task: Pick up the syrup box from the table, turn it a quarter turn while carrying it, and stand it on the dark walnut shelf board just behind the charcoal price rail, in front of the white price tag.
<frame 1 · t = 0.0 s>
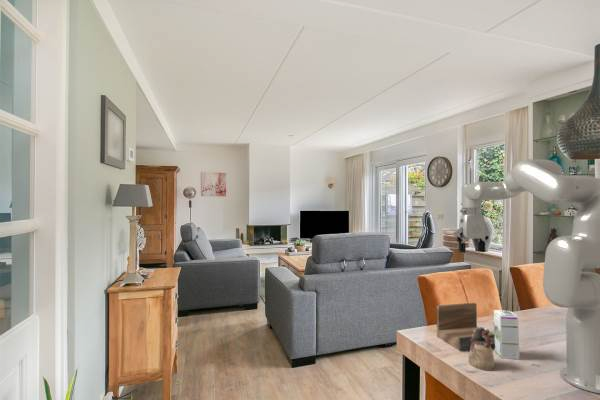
hand: (472, 251, 136), 31 cm above the table, tool pointing down, fingers open, 9 cm apart
syrup box: (506, 355, 108), on the table
shelf: (468, 341, 119), on the table
figurine: (481, 365, 101), on the table
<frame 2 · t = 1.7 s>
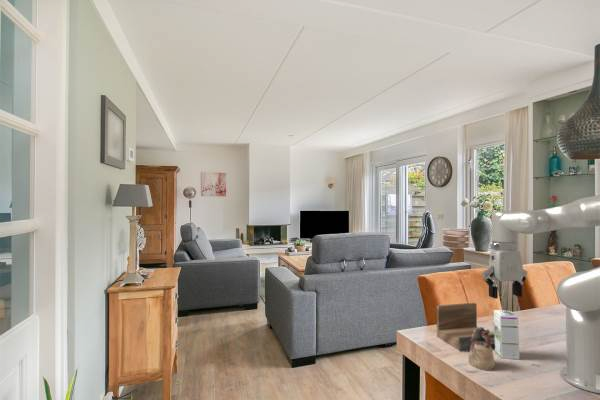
hand: (505, 296, 108), 20 cm above the table, tool pointing down, fingers open, 9 cm apart
nothing on the table moved.
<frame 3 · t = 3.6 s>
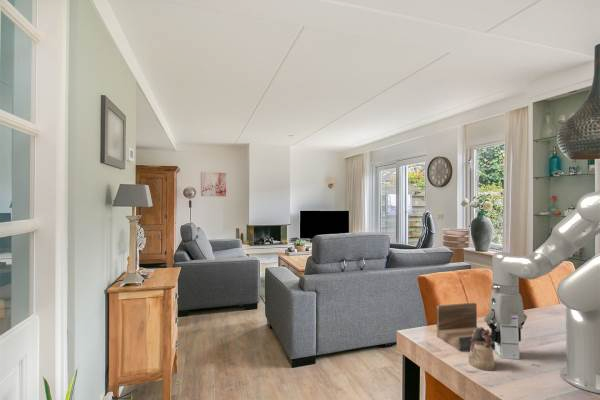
hand: (506, 340, 108), 5 cm above the table, tool pointing down, fingers closed on syrup box, 7 cm apart
syrup box: (506, 355, 108), on the table, touching gripper
everything else where it was.
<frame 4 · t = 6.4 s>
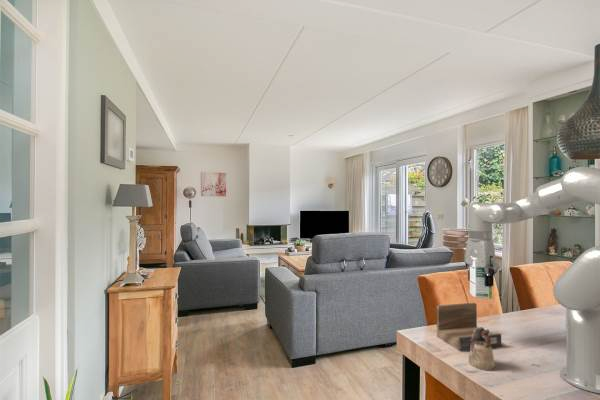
hand: (480, 283, 118), 22 cm above the table, tool pointing down, fingers closed on syrup box, 7 cm apart
syrup box: (480, 296, 118), point 17 cm above the table, touching gripper
everything else where it was.
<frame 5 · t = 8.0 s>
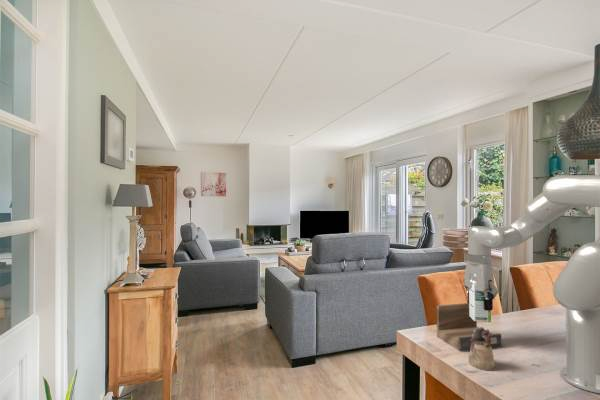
hand: (479, 306, 118), 13 cm above the table, tool pointing down, fingers closed on syrup box, 7 cm apart
syrup box: (479, 319, 118), point 8 cm above the table, touching gripper
everything else where it was.
when the fingers open (9 cm above the table, at t = 9.4 s): syrup box drops 1 cm, resting on shelf.
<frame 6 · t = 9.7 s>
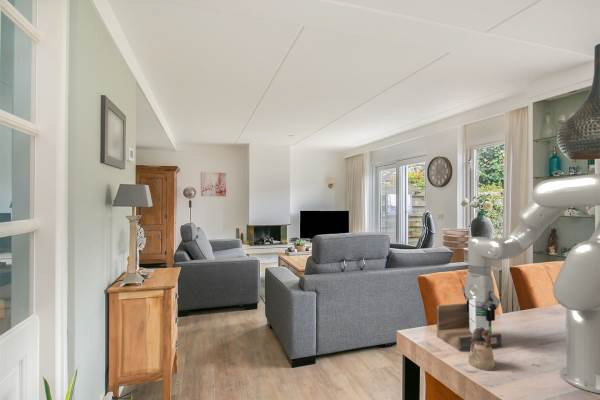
hand: (480, 316, 118), 10 cm above the table, tool pointing down, fingers open, 9 cm apart
syrup box: (480, 334, 118), point 3 cm above the table, touching shelf
everything else where it was.
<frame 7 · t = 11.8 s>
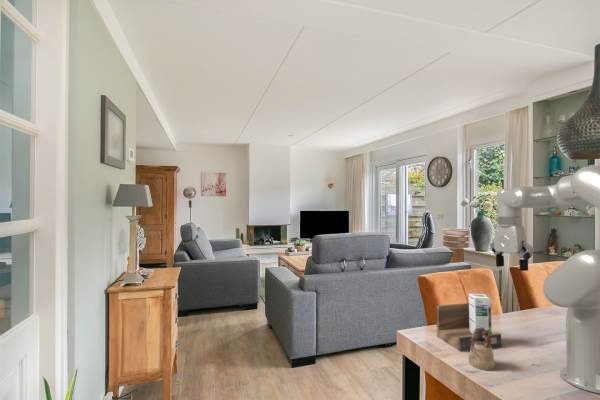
hand: (511, 268, 117), 28 cm above the table, tool pointing down, fingers open, 9 cm apart
nothing on the table moved.
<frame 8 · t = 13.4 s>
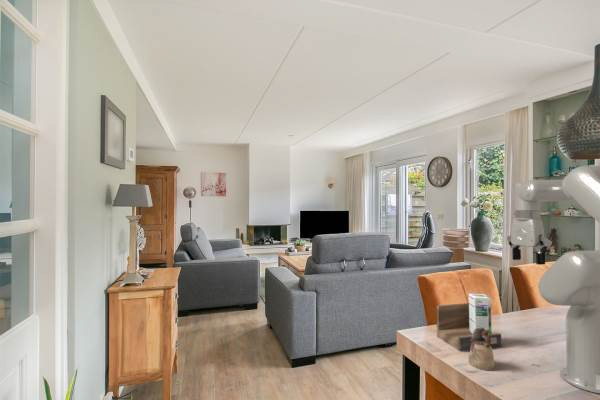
hand: (528, 261, 117), 30 cm above the table, tool pointing down, fingers open, 9 cm apart
nothing on the table moved.
at the end: syrup box inside the target area (0.4 cm from its centre), point 2.8 cm above the table; syrup box tilted 0°; the gripper is holding nothing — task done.
